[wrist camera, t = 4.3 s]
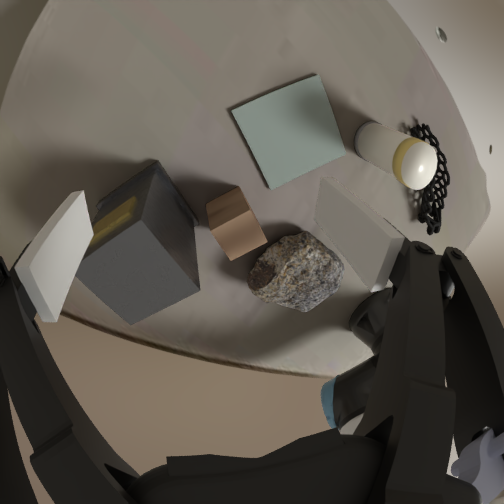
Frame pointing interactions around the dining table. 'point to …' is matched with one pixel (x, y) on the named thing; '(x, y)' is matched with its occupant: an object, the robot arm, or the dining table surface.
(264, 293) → the rock
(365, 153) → the cartridge
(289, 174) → the mat
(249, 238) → the walnut block
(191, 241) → the box
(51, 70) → the dining table surface
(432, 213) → the decorative element
